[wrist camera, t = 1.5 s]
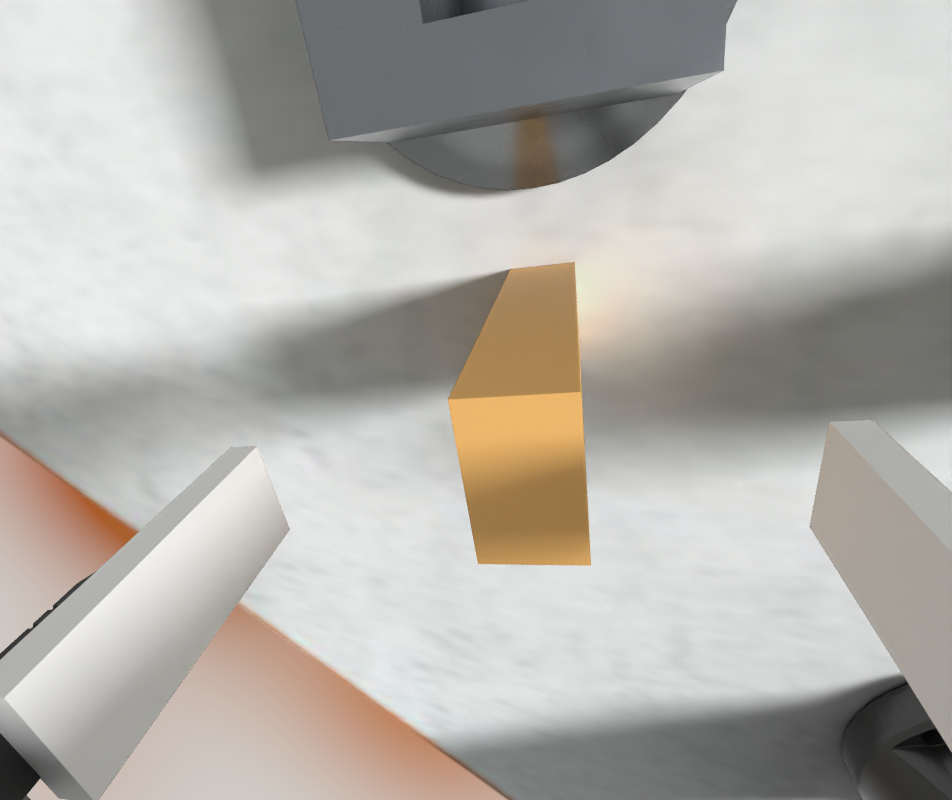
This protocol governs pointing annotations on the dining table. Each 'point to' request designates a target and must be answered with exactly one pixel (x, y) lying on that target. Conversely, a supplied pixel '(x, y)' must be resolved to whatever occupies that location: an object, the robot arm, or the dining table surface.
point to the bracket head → (508, 78)
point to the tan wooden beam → (525, 425)
